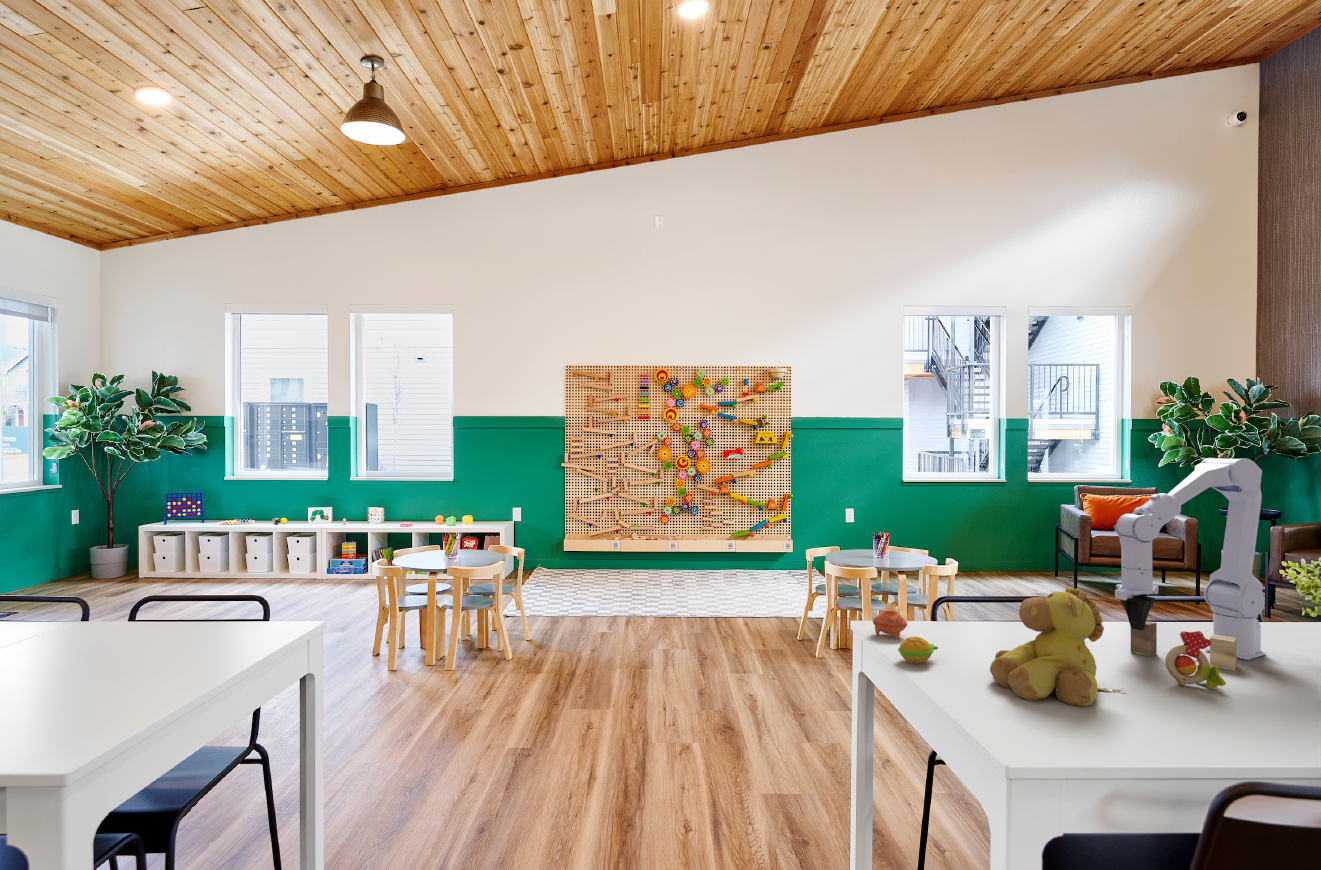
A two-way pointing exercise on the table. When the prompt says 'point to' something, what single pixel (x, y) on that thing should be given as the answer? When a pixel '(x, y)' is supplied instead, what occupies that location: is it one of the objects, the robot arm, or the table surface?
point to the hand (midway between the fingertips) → (1137, 628)
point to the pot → (889, 623)
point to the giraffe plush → (1054, 650)
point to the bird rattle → (1192, 662)
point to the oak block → (1223, 652)
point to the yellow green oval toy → (916, 650)
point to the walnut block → (1144, 640)
